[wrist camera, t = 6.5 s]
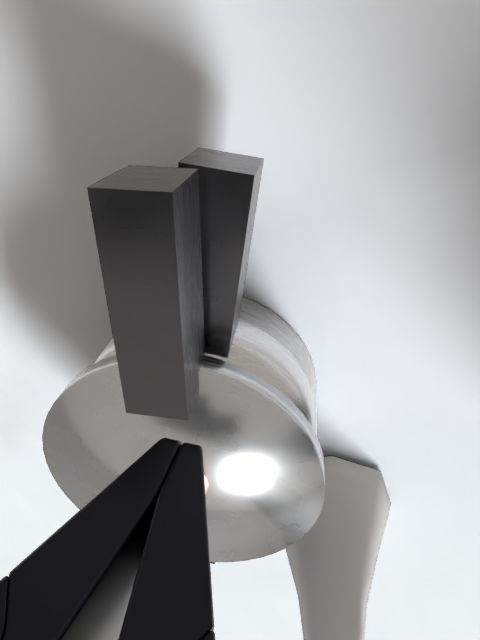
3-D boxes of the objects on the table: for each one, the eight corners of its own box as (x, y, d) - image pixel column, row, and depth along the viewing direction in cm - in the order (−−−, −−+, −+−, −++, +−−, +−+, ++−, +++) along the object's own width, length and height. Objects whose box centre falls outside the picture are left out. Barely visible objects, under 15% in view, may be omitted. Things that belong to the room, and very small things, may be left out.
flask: (268, 446, 24) (243, 649, 16) (398, 457, 23) (446, 682, 15) (270, 522, 28) (251, 719, 20) (382, 534, 27) (413, 749, 18)
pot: (283, 500, 26) (277, 582, 22) (116, 463, 27) (80, 536, 23) (386, 166, 16) (412, 204, 11) (102, 118, 16) (28, 137, 12)
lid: (309, 558, 20) (308, 615, 18) (82, 521, 22) (57, 571, 19) (379, 177, 11) (394, 205, 9) (-29, 157, 12) (-100, 176, 10)
